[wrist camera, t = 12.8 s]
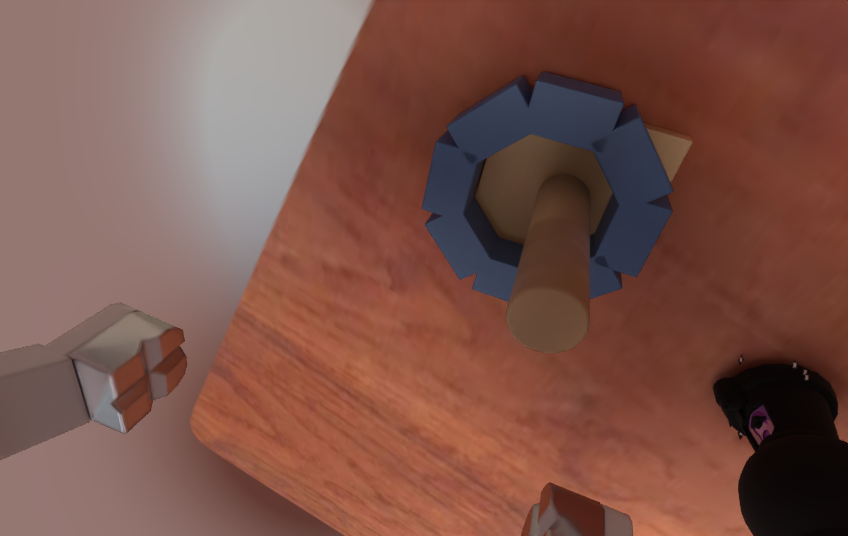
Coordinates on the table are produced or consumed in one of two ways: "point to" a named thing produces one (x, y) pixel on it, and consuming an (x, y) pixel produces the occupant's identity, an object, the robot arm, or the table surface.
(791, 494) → the black rounded figure
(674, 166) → the stand
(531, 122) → the ring
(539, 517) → the robot arm
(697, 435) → the table surface
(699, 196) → the table surface
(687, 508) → the table surface
